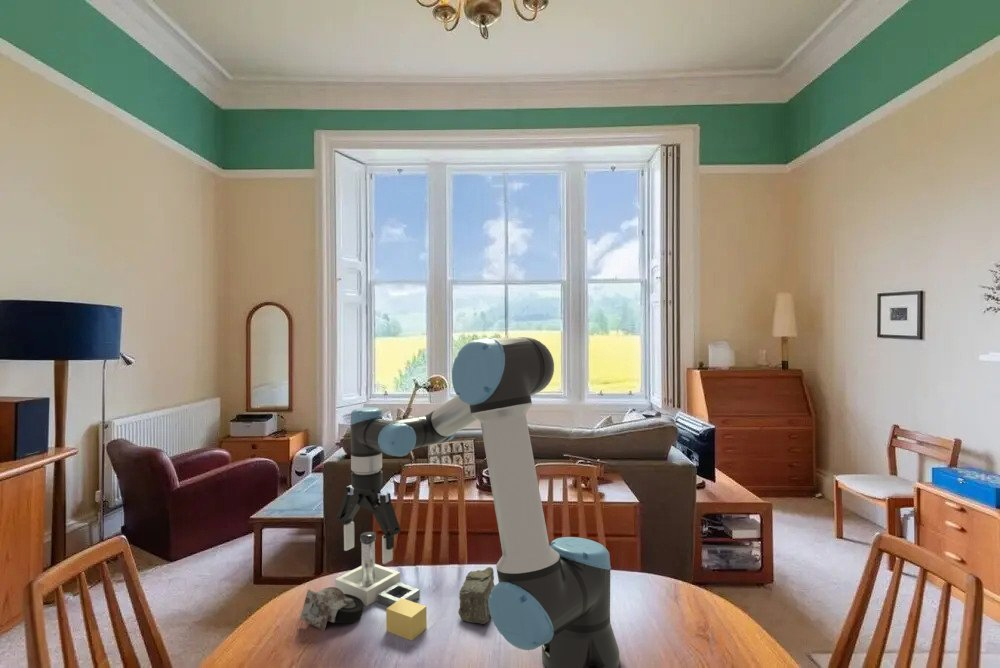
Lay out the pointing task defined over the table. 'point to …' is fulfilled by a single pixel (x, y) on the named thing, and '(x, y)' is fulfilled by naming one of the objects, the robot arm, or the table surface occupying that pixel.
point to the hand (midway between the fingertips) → (367, 555)
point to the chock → (406, 618)
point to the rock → (476, 596)
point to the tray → (353, 586)
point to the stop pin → (368, 558)
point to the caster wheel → (331, 607)
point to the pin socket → (398, 588)
